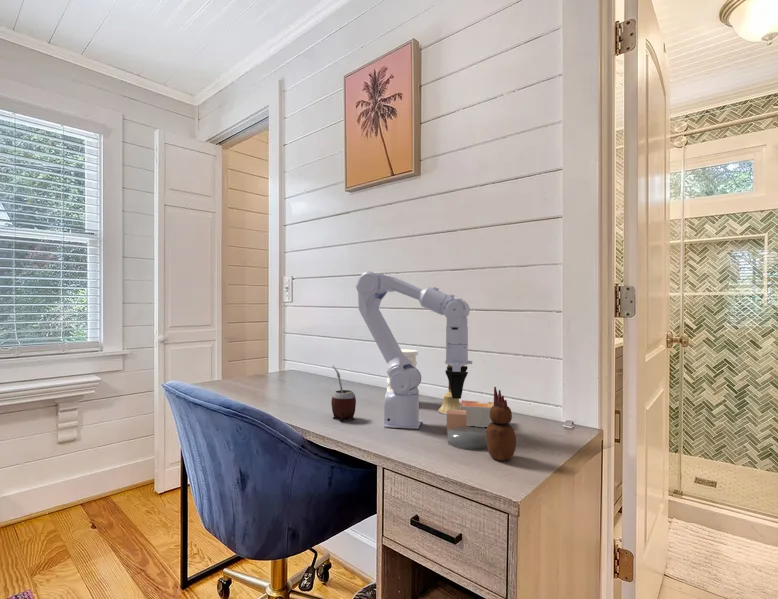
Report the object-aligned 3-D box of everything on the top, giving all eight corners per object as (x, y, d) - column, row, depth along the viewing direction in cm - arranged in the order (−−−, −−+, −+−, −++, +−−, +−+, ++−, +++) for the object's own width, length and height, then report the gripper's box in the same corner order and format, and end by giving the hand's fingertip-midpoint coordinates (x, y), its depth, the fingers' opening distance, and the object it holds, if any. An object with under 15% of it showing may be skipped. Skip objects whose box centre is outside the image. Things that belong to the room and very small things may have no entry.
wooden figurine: (482, 453, 95) (482, 385, 96) (508, 452, 96) (507, 385, 96) (492, 464, 88) (492, 391, 89) (519, 463, 89) (519, 390, 89)
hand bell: (460, 416, 128) (460, 363, 129) (434, 413, 132) (434, 361, 132) (467, 410, 136) (467, 360, 136) (442, 408, 139) (442, 359, 140)
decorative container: (381, 406, 141) (382, 351, 141) (387, 399, 152) (387, 348, 153) (416, 408, 139) (417, 352, 139) (420, 400, 150) (420, 349, 151)
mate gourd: (353, 422, 120) (353, 369, 121) (325, 421, 121) (326, 368, 122) (357, 416, 128) (358, 365, 128) (332, 415, 129) (332, 365, 129)
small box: (499, 408, 115) (460, 405, 117) (499, 428, 115) (460, 426, 117) (498, 401, 123) (461, 399, 125) (498, 421, 123) (461, 419, 125)
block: (446, 433, 111) (446, 414, 111) (447, 428, 116) (447, 409, 116) (466, 434, 110) (466, 414, 110) (466, 429, 115) (466, 410, 115)
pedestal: (446, 448, 98) (447, 437, 99) (448, 435, 108) (448, 425, 108) (491, 450, 97) (491, 439, 97) (488, 437, 107) (488, 427, 107)
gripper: (472, 346, 106) (472, 401, 105) (471, 342, 120) (471, 391, 120) (444, 346, 107) (444, 400, 107) (446, 341, 121) (446, 390, 121)
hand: (456, 395), depth 113 cm, fingers open, 7 cm apart
